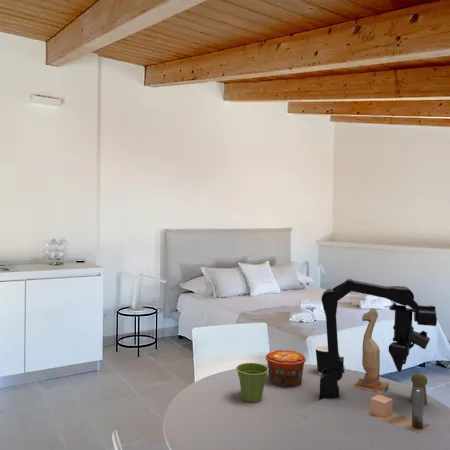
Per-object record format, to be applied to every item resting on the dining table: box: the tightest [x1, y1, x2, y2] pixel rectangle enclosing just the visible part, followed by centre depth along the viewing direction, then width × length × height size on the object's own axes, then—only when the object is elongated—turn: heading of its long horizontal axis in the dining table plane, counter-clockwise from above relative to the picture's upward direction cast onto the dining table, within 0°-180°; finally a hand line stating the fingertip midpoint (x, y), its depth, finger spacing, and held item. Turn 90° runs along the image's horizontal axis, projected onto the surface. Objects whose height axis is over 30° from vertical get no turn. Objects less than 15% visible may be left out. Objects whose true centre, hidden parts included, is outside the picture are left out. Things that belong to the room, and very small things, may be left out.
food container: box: [265, 349, 307, 388], centre depth 178 cm, size 16×16×11 cm
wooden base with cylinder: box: [363, 387, 430, 434], centre depth 143 cm, size 18×8×13 cm, turn 42°
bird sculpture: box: [353, 307, 390, 394], centre depth 170 cm, size 11×12×32 cm
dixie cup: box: [314, 345, 328, 376], centre depth 187 cm, size 8×8×11 cm
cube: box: [370, 393, 393, 418], centre depth 147 cm, size 5×5×5 cm
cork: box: [409, 373, 428, 406], centre depth 156 cm, size 6×6×11 cm
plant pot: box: [235, 362, 269, 403], centre depth 161 cm, size 12×12×11 cm
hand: (401, 367), depth 155 cm, fingers open, 9 cm apart
